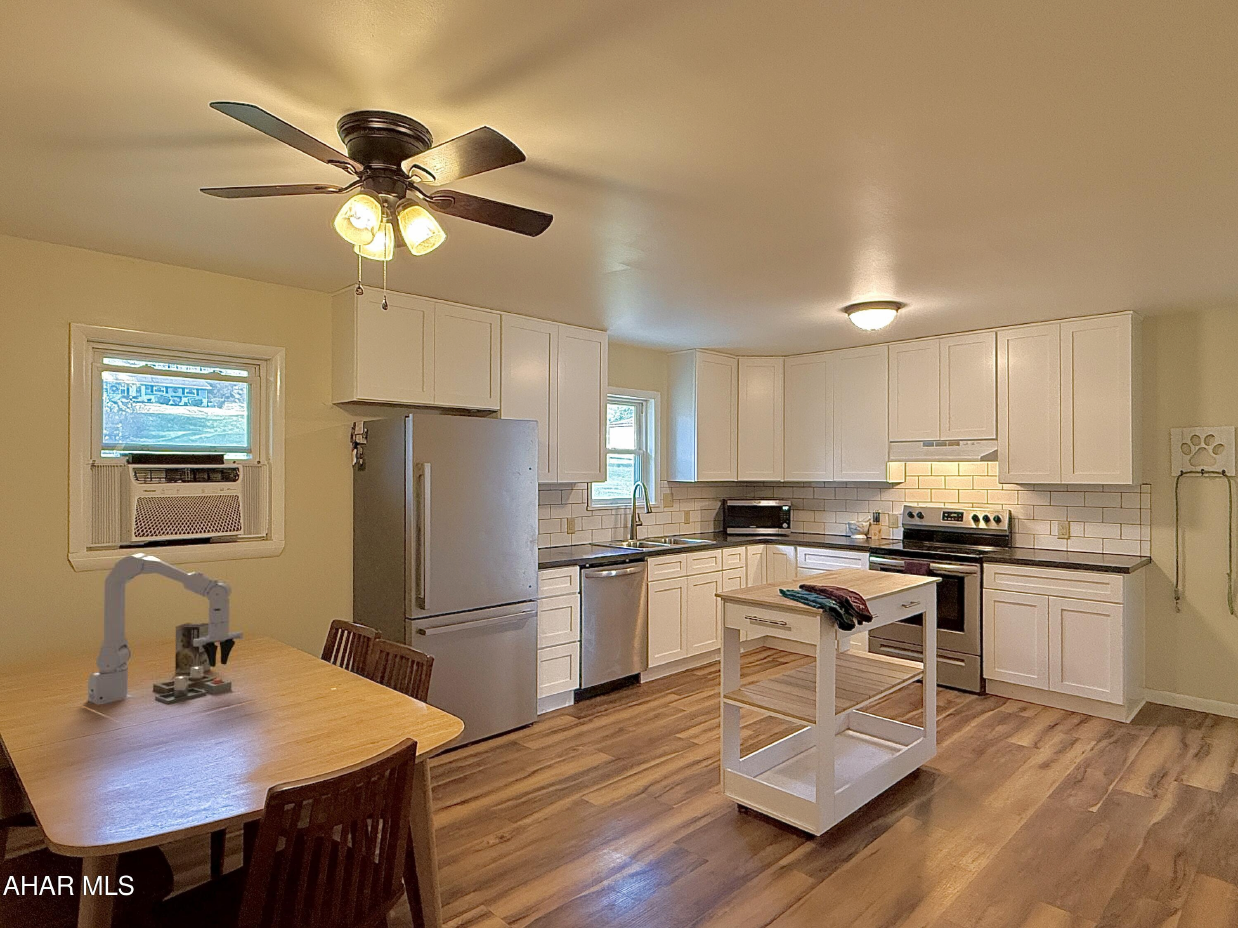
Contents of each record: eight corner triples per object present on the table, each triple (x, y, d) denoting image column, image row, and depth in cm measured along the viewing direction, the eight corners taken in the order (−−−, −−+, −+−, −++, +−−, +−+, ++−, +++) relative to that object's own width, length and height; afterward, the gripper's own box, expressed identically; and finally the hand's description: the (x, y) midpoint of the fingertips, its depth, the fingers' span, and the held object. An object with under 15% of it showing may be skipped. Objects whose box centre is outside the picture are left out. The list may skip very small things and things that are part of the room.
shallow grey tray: (168, 705, 215) (168, 700, 215) (155, 700, 220) (155, 695, 220) (206, 696, 224) (206, 691, 224) (193, 692, 229) (193, 687, 229)
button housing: (213, 695, 225) (213, 685, 225) (203, 692, 228) (204, 682, 228) (231, 691, 230) (231, 681, 230) (222, 688, 233) (222, 678, 233)
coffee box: (211, 668, 256) (212, 622, 257) (198, 673, 250) (199, 626, 250) (186, 668, 257) (187, 622, 258) (174, 672, 251) (175, 625, 251)
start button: (215, 688, 227) (216, 680, 227) (211, 687, 229) (212, 679, 229) (223, 686, 229) (223, 679, 229) (219, 685, 231) (219, 677, 231)
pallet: (166, 696, 224) (167, 688, 224) (153, 691, 229) (153, 683, 229) (216, 685, 236) (216, 677, 236) (202, 680, 241) (202, 673, 241)
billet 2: (193, 688, 233) (194, 669, 233) (188, 686, 235) (188, 667, 235) (205, 685, 236) (205, 667, 236) (199, 683, 238) (199, 665, 238)
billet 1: (177, 699, 219) (178, 679, 220) (171, 697, 221) (172, 677, 222) (190, 696, 222) (190, 676, 222) (184, 694, 224) (184, 675, 225)
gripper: (201, 627, 221) (200, 672, 221) (248, 619, 233) (247, 662, 233) (190, 624, 225) (189, 668, 225) (236, 617, 237) (235, 658, 237)
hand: (218, 665), depth 229 cm, fingers open, 3 cm apart
